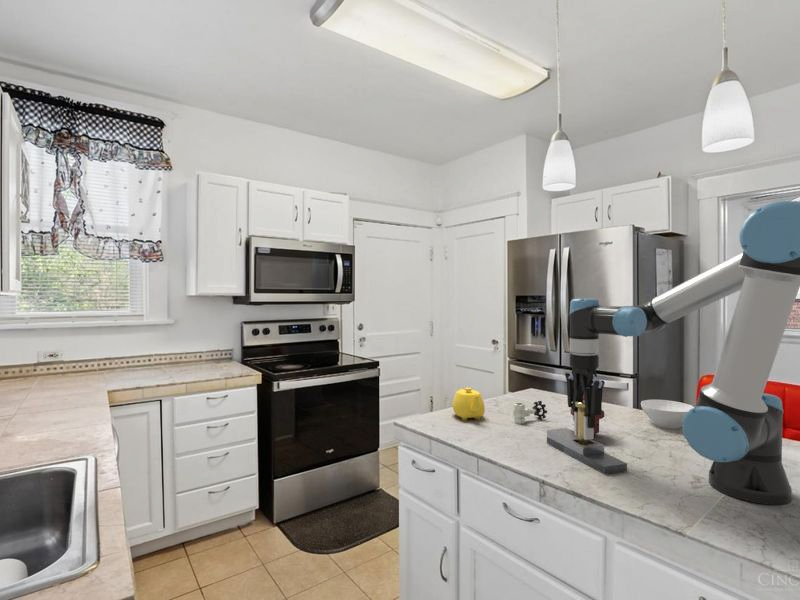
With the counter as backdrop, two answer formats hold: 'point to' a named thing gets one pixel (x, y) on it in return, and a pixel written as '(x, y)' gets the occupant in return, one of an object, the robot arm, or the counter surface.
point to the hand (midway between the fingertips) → (583, 436)
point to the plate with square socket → (585, 451)
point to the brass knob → (581, 422)
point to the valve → (528, 411)
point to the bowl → (666, 412)
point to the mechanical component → (596, 428)
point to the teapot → (468, 404)
